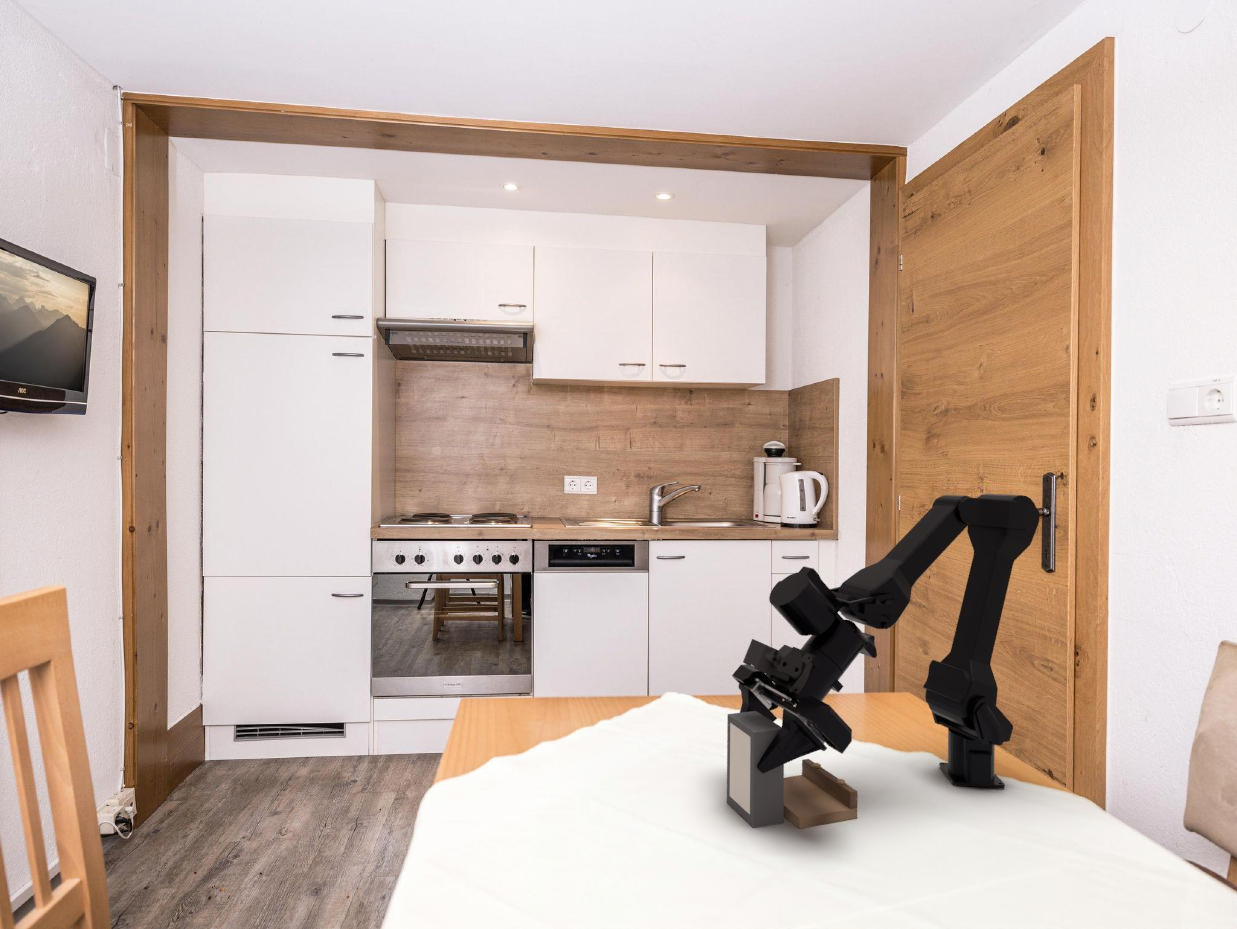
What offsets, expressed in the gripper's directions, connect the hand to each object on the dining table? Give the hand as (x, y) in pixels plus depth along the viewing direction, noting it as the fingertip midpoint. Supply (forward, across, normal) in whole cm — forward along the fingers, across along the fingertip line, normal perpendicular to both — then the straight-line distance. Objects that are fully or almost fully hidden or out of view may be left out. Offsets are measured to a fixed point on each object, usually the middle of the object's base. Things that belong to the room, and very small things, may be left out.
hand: (744, 758), depth 85 cm
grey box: (+4, 0, +6) cm, 7 cm away
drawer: (-1, 0, +11) cm, 11 cm away
